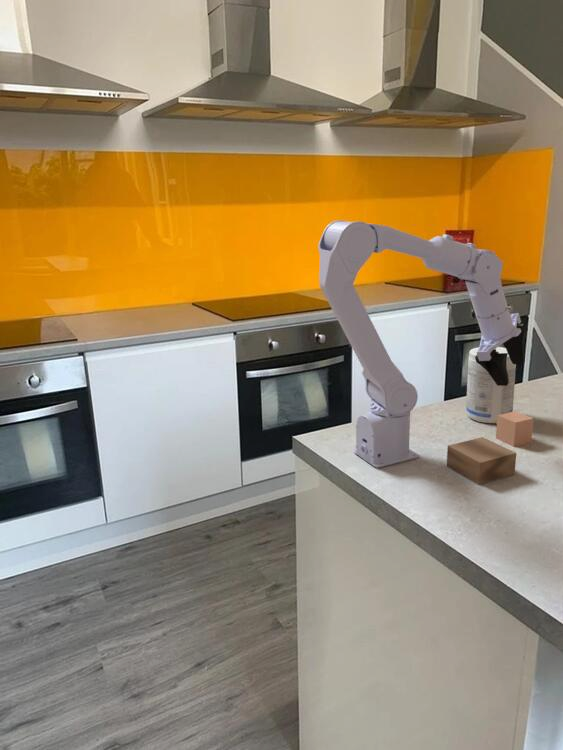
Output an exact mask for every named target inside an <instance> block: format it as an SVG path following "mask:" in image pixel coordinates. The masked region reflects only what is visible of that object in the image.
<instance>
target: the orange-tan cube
mask: <svg viewBox="0 0 563 750" xmlns="http://www.w3.org/2000/svg"><path fill="white" fill-rule="evenodd" d="M533 426H534V417H531V416H528V415H526V414H523V413H521V412H518V411H516V410H514V411H513V412H509V413H505V414H501V415H498V416H497V423H496V431H495V439H496V440H498V441H500V442H502V443H504V444H507V445H508V446H512V447H514V448H515V447H519V446H522V445H526V444H529V443H532V439H533V428H534V427H533Z"/></svg>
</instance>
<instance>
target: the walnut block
mask: <svg viewBox="0 0 563 750" xmlns="http://www.w3.org/2000/svg"><path fill="white" fill-rule="evenodd" d="M516 461H517V452H515V451H513V450H511V449H509V448H507V447H504V446H503V445H500V444H499V443H496V442H494V441H493V440H490V439H488V438H486V437H483V436H481V437H477V438H473V439H469V440H466V441H460V442H458V443H454V444H453V443H452V444H448V445H447V451H446V467H447V468H449V469H450V470H452V471H454V472H456V473H458V474H459V475H460V476H463V477H464V478H466V479H468V480H469V481H471V482H473V483H474V484H476V485H483V484H486V483H490V482H492V481H496V480H500V479H503V478H507V477H511V476H513V475H515V473H516V472H515V471H516V465H517V464H516V463H517V462H516Z"/></svg>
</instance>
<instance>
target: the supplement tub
mask: <svg viewBox="0 0 563 750" xmlns="http://www.w3.org/2000/svg"><path fill="white" fill-rule="evenodd" d="M478 349H479V347H474V348H472V349H470V350H469V353H468V362H467V383H466V384H467V386H466V404H465V407H466V409H465V412H466V413H465V414H466V415H467V417H468V418H470V419H471V420H473V421H475V422H478V423H479V422H480V423H482V424H483V423H485V424H497V416H498V415H501V414H505V413H509V412H514V411H513V410H514V399H515V383H516V371H517V368H516V366H517V364H513V363H512V362H511V360H510V357H509V355H507V361H506V367H507V373H508V379H509V384H508V385H507V386H497V384H496V383H495V381H494V380H493V378H492V377H491V376H490V374H489V373H488V372H487V371H486V370H485V369H484V368H483V367H482V366H481V365H480V364H478V363H477V362H476V360H475V356H476V355H477V351H478ZM495 350H496V351H497V352H499V353H508V352H507V350H506V348H505V347H502V346H498V347H497V348H496V349H495Z"/></svg>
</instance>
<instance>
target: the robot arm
mask: <svg viewBox="0 0 563 750" xmlns="http://www.w3.org/2000/svg"><path fill="white" fill-rule="evenodd" d="M453 239H454V236H453V235H450V234H442V236H440V235H437V236H434V237H432V238H431V239H428V240H427V239H424V238H422V237H419V236H416V235H414V234H411V233H408V232H405V231H403V230H399V229H396V228H393V227H391V226H388V225H383V224H376V223H368V222H367V223H366V222H365V221H360V220H359V221H347V220H343V219H339V220H334V221H331V222H330V223H329V224H328V225H327V226H326V227H325V228H324V230H323V232H322V235H321V237H320V240H319V242H318V245H317V247H318V252H319V276H318V277H319V278H318V279H319V281H318V282H319V288H320V289H321V291H322V293H323V295H324V297H325V299H326V301H327V303H328V304H329V306H330V308H331V310H332V312H333V314H334V315H335V318H336V320H337V321H338V323H339V325H340V327H341V329H342V331H343V333H344V335H345V337H346V338H347V341H348V342H349V345H350V346H351V348H352V350H353V352H354V354H355V356H356V358H357V360H358V361H359V363H360V366H361V367H362V369H363V370H362V373H361V374H362V376H363V378H364V380H365V392H366V393H367V396H368V397H369V398H370V399H371V403H370V410H368V411H367V412H366V413H365V414H362V415H360V416H359V417H358V418H357V420H356V424H355V425H356V428H355V431H356V432H355V435H356V436H355V437H356V438H355V443H356V444H355V449H354V450H353V452H354V454H356V455H358V456H359V457H360V458H362V460H365V461H366V462H367V463H369V464H370V465H372V466H373V467H375V468H378V469H379V468H382V467H387V466H390V465H395V464H398V463H402V462H407V461H410V460H414V459H418V458H419V457H420V454H419V453H417V452H415V451H413V450H411V449H410V437H411V435H410V434H411V433H410V431H411V412H412V410H414V408H415V406H416V405H417V403H418V391H417V388H416V387H415V385H413V384H412V383H411V382H409V381H407V380H406V379H405V377H404V375H403V373H402V372H401V370H400V369H399V368H398V366H396V364H395V363H394V362H393V361H392V360H391V356H390V355H389V354H388V350H386V347H385V345H384V343H383V342H382V341H383V340H382V339H381V337H380V336H379V333H378V332H377V329H376V328H375V325H374V323H373V322H372V320H371V318H370V316H369V314H368V312H367V310H366V308H365V306H364V303H363V302H362V300H361V298H360V295H359V294H358V292H357V290H356V288H355V286H354V283H355V281H356V278H357V275H358V273H359V272H360V271H361V269H362V268H363V266H364V265H365V264H366V262H367V261H368V260H369V259H370V257H371V256H372V255H373V253H376V254H378V253H382V252H383V251H385V250H389V251H392V252H396V253H401V254H405V255H408V256H412V257H415V258H419V259H422V263H423V265H424V266H425V267H426V268H427V269H429V270H432V271H436V272H438V273H443V274H446V275H450V276H452V277H457V278H458V279H460V280H463V281H464V280H465V281H464V282H465V285H466V288H467V289H466V290H467V291H468V295H469V298H470V301H471V304H472V308H473V311H474V314H475V317H476V319H477V320H476V321H477V323H478V326H479V329H480V332H481V336H480V337H481V338H480V342H479V349H478V351H477V355H476V356H475V360H476V362H477V363H478V364H480V365H481V366H482V367H483V368H484V369H485V370H486V371H487V372H488V373H489V374H490V376H491V377H492V378H493V380H494V381H495V383H496V384H497V386H507V385H508V384H509V379H508V373H507V367H506V361H507V355H509V357H510V360H511V362H512V363H513V364H516V365H524V364H525V361H526V357H525V356H526V355H525V354H526V352H525V346H526V345H525V344H526V337H527V332H528V331H529V329H528V326H527V325H523V324H522V325H520V324H521V323H522V320H521V316H520V313H518V312H517V313H511V312H510V309H509V306H508V302H507V299H506V295H505V292H504V289H503V285H502V284H503V283H502V279H501V275H502V271H503V266H504V265H503V260H502V259H500V258H499V256H498V255H497V254H496V253H495V251H492V250H489V249H481V248H480V249H479V248H476V246H477V245H476V244H474V243H472V242H467V243H463V242H460V241H457V240H453ZM502 344H503V346H504V348H506V350H507V352H508V353H499V352H497V351H496V350H495V349H496V348H497V347H501V345H502Z"/></svg>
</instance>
